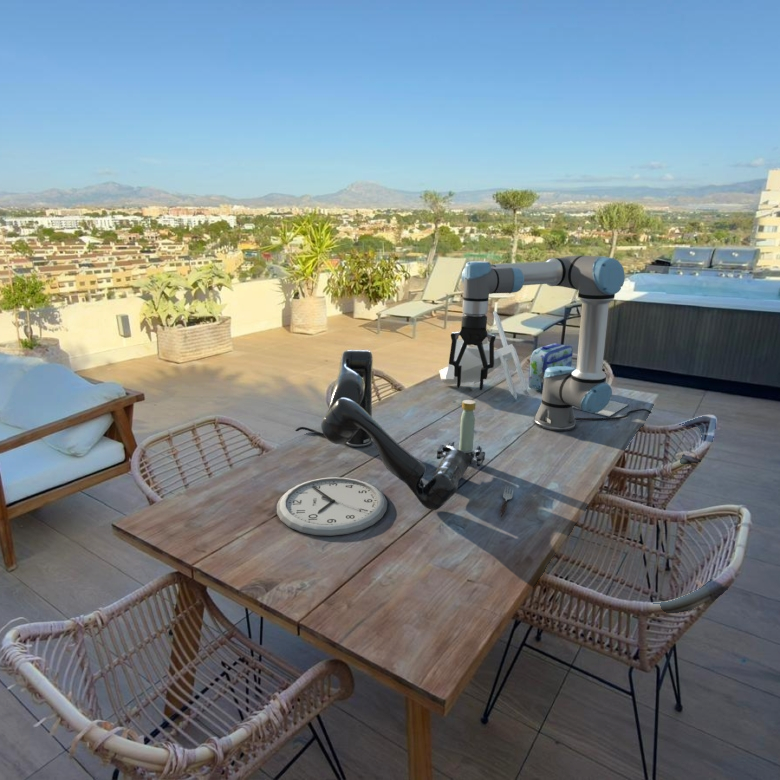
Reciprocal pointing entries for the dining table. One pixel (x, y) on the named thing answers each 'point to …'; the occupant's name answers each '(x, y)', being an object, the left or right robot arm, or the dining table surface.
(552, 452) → the dining table surface
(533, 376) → the lunch box
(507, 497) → the fork
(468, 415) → the bottle
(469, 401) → the cap
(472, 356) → the white plastic object
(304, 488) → the wall clock
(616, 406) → the invitation card
